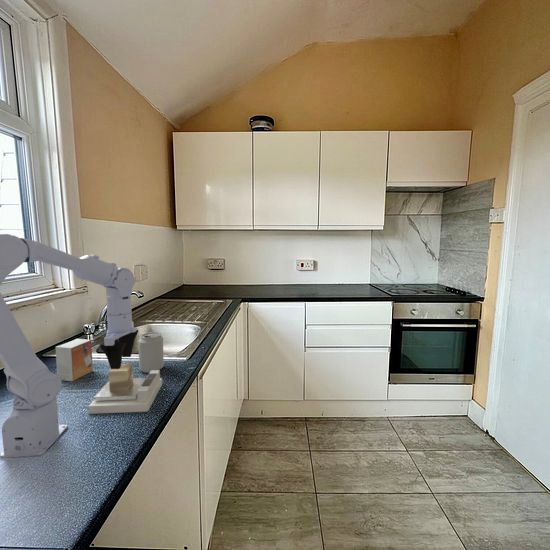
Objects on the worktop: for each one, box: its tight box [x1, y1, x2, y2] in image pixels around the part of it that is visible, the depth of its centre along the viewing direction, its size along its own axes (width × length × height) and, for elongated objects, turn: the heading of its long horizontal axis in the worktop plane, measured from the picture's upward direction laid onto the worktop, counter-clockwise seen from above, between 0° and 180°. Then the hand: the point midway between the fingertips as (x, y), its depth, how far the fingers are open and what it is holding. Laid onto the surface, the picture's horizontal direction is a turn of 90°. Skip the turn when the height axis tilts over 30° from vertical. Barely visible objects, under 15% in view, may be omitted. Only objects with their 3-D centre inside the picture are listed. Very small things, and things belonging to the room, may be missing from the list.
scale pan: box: [93, 377, 146, 401], centre depth 82 cm, size 10×10×1 cm
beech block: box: [108, 363, 134, 391], centre depth 82 cm, size 4×4×6 cm
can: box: [137, 331, 165, 374], centre depth 100 cm, size 8×8×12 cm
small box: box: [55, 338, 94, 382], centre depth 94 cm, size 8×6×10 cm
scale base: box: [88, 370, 163, 415], centre depth 82 cm, size 14×14×5 cm
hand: (121, 362), depth 81 cm, fingers open, 7 cm apart
